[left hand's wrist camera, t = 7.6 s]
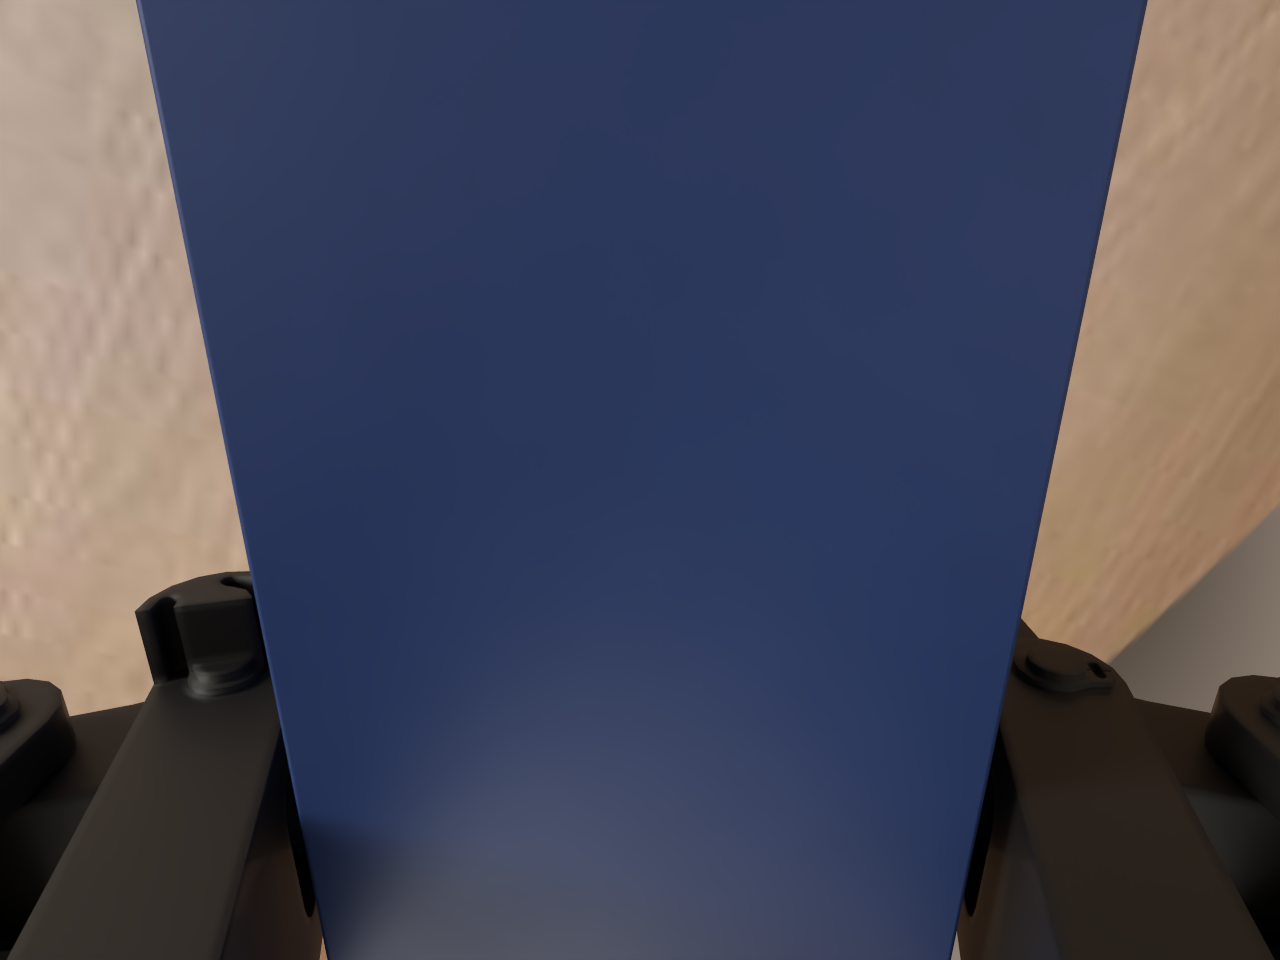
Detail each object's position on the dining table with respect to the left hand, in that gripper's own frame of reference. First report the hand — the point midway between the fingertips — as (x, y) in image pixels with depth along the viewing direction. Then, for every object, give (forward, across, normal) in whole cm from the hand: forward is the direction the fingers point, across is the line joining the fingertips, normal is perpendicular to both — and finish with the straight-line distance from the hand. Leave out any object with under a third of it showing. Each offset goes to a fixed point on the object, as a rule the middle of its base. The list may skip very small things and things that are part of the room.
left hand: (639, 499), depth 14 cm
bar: (+1, 0, -8) cm, 8 cm away
